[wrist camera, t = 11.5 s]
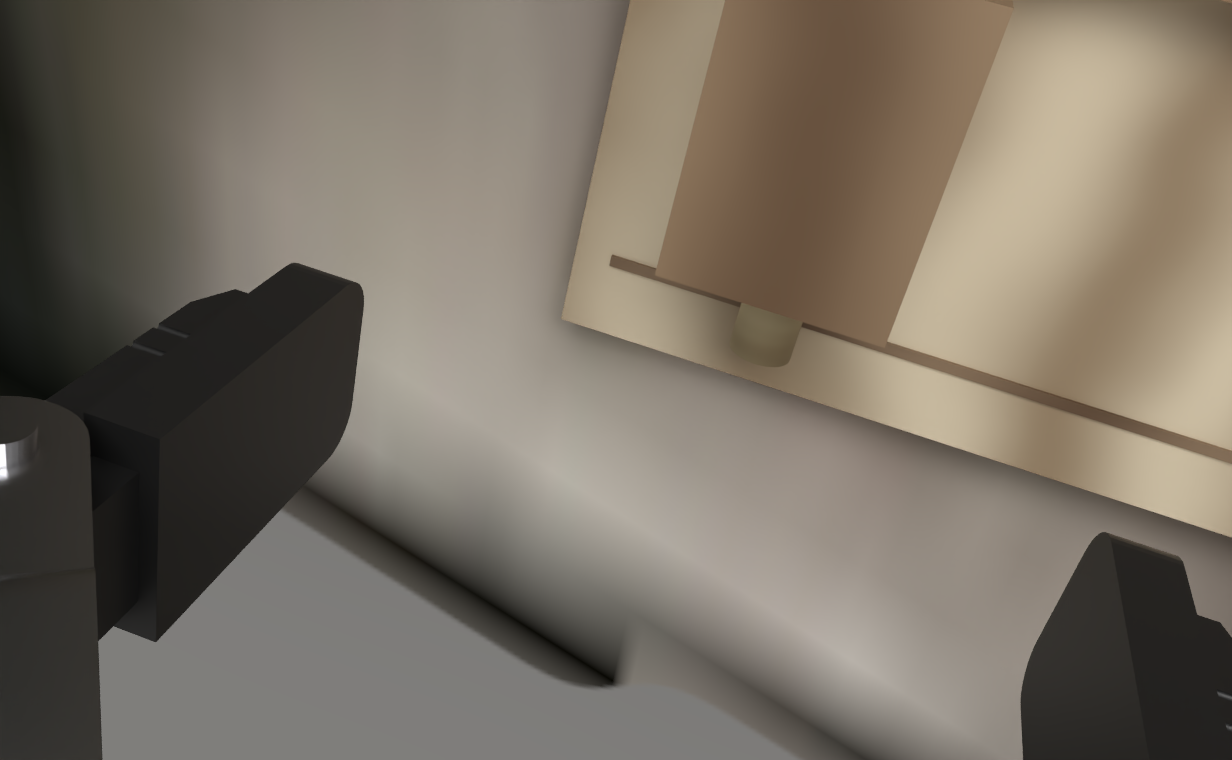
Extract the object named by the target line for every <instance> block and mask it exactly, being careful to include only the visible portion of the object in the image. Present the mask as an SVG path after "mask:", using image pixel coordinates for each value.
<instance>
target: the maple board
mask: <svg viewBox="0 0 1232 760" xmlns="http://www.w3.org/2000/svg"><path fill="white" fill-rule="evenodd" d="M724 3H725V0H630V4H629V9H628V13H627V18H626V23H625V27H624V32H623V36H622V41H621V46H620V50H619V55H618V59H617V64H616V69H615V73H614V78H613V82H612V87H611V92H610V96H609V101H608V105H607V110H606V114H605V119H604V124H603V128H602V133H601V137H600V142H599V147H598V151H597V156H596V160H595V165H594V170H593V174H592V179H591V183H590V188H589V193H588V197H587V202H586V206H585V211H584V216H583V220H582V225H581V229H580V234H579V238H578V243H577V248H576V252H575V257H574V261H573V266H572V271H571V275H570V280H569V284H568V289H567V294H566V298H565V303H564V307H563V312H562V317H561V319H563V320H566V321H569V322H572V323H575V324H578V325H581V326H584V327H587V328H590V329H593V330H597V331H600V332H603V333H606V334H609V335H612V336H615V337H618V338H621V339H624V340H627V341H630V342H633V343H636V344H640V345H643V346H646V347H649V348H652V349H655V350H658V351H661V352H664V353H667V354H670V355H673V356H676V357H679V358H682V359H686V360H689V361H692V362H695V363H698V364H701V365H704V366H707V367H710V368H713V369H716V370H719V371H722V372H725V373H728V374H732V375H735V376H738V377H741V378H744V379H747V380H750V381H753V382H756V383H759V384H762V385H765V386H768V387H771V388H775V389H778V390H781V391H784V392H787V393H790V394H793V395H796V396H799V397H802V398H805V399H808V400H811V401H814V402H817V403H821V404H824V405H827V406H830V407H833V408H836V409H839V410H842V411H845V412H848V413H851V414H854V415H857V416H860V417H863V418H867V419H870V420H873V421H876V422H879V423H882V424H885V425H888V426H891V427H894V428H897V429H900V430H903V431H906V432H909V433H913V434H916V435H919V436H922V437H925V438H928V439H931V440H934V441H937V442H940V443H943V444H946V445H949V446H952V447H956V448H959V449H962V450H965V451H968V452H971V453H974V454H977V455H980V456H983V457H986V458H989V459H992V460H995V461H998V462H1002V463H1005V464H1008V465H1011V466H1014V467H1017V468H1020V469H1023V470H1026V471H1029V472H1032V473H1035V474H1038V475H1041V476H1044V477H1048V478H1051V479H1054V480H1057V481H1060V482H1063V483H1066V484H1069V485H1072V486H1075V487H1078V488H1081V489H1084V490H1087V491H1091V492H1094V493H1097V494H1100V495H1103V496H1106V497H1109V498H1112V499H1115V500H1118V501H1121V502H1124V503H1127V504H1130V505H1133V506H1137V507H1140V508H1143V509H1146V510H1149V511H1152V512H1155V513H1158V514H1161V515H1164V516H1167V517H1170V518H1173V519H1176V520H1179V521H1183V522H1186V523H1189V524H1192V525H1195V526H1198V527H1201V528H1204V529H1207V530H1210V531H1213V532H1216V533H1219V534H1222V535H1226V536H1229V537H1232V0H1013V6H1014V10H1013V12H1012V15H1011V17H1010V20H1009V23H1008V25H1007V28H1006V31H1005V33H1004V36H1003V38H1002V41H1001V44H1000V46H999V49H998V52H997V54H996V57H995V60H994V62H993V65H992V67H991V70H990V73H989V75H988V78H987V81H986V83H985V86H984V88H983V91H982V94H981V96H980V99H979V102H978V104H977V107H976V109H975V112H974V115H973V117H972V120H971V123H970V125H969V128H968V130H967V133H966V136H965V138H964V141H963V144H962V146H961V149H960V151H959V154H958V157H957V159H956V162H955V165H954V167H953V170H952V172H951V175H950V178H949V180H948V183H947V186H946V188H945V191H944V193H943V196H942V199H941V201H940V204H939V207H938V209H937V212H936V214H935V217H934V220H933V222H932V225H931V228H930V230H929V233H928V235H927V238H926V241H925V243H924V246H923V249H922V251H921V254H920V256H919V259H918V262H917V264H916V267H915V270H914V272H913V275H912V278H911V280H910V283H909V285H908V288H907V291H906V293H905V296H904V299H903V301H902V304H901V306H900V309H899V312H898V314H897V317H896V320H895V322H894V325H893V327H892V330H891V333H890V335H889V338H888V341H887V343H886V346H885V348H883V347H880V346H877V345H874V344H870V343H867V342H864V341H861V340H858V339H855V338H851V337H848V336H845V335H842V334H839V333H836V332H832V331H829V330H826V329H823V328H820V327H817V326H813V325H810V324H807V323H804V322H803V323H802V326H801V329H800V332H799V335H798V338H797V341H796V344H795V347H794V350H793V353H792V356H791V359H790V361H789V363H788V364H786V365H784V366H781V367H765V366H760V365H756V364H753V363H751V362H748V361H746V360H744V359H742V358H741V357H739V356H738V355H737V354H735V353H734V352H733V351H732V349H731V347H730V344H729V343H730V339H731V336H732V332H733V329H734V326H735V322H736V319H737V316H738V312H739V309H740V306H741V302H737V301H734V300H731V299H728V298H725V297H722V296H718V295H715V294H712V293H709V292H706V291H702V290H699V289H696V288H693V287H690V286H687V285H683V284H680V283H677V282H674V281H671V280H668V279H664V278H661V277H658V276H655V272H656V268H657V264H658V260H659V257H660V253H661V249H662V245H663V241H664V237H665V233H666V229H667V225H668V221H669V218H670V214H671V210H672V206H673V202H674V198H675V194H676V190H677V186H678V182H679V179H680V175H681V171H682V167H683V163H684V159H685V155H686V151H687V147H688V143H689V139H690V136H691V132H692V128H693V124H694V120H695V116H696V112H697V108H698V104H699V100H700V97H701V93H702V89H703V85H704V81H705V77H706V73H707V69H708V65H709V61H710V58H711V54H712V50H713V46H714V42H715V38H716V34H717V30H718V26H719V22H720V18H721V15H722V11H723V7H724Z"/></svg>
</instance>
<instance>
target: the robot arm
mask: <svg viewBox="0 0 1232 760" xmlns="http://www.w3.org/2000/svg"><path fill="white" fill-rule="evenodd" d="M363 308H364V295H363V290H362V287H361V286H360V284H358V283H356V282H353V281H350V280H347V279H344V278H341V277H338V276H335V275H332V274H329V273H326V272H323V271H320V270H317V269H314V268H311V267H308V266H305V265H302V264H299V263H292V264H289V265H287V266H286V267H284V268H283V269H282V270H280V271H279V272H277V273H276V274H275V275H273V276H272V277H270V278H269V279H268V280H266V281H265V282H264V283H262V284H261V285H259V286H258V287H257V288H255V289H254V290H252V291H251V292H250V293H245V292H242V291H239V290H236V289H235V290H231V291H228V292H224V293H221V294H217V295H214V296H210V297H207V298H203V299H200V300H196V301H193V302H190V303H189V304H187V305H186V306H184V307H183V308H181V309H180V310H178V311H177V312H175V313H174V314H172V315H171V316H169V317H168V318H166V319H165V320H163V321H162V322H161V323H159V327H158V328H157V329H156V328H152V329H150V330H149V331H147V332H146V333H144V334H143V335H141V336H140V337H138V338H137V339H135V340H134V341H133V345H132V346H131V347H130V346H128V345H127V346H125V347H124V348H122V349H121V350H119V351H118V352H116V353H115V354H113V355H112V356H110V357H109V358H107V359H106V360H104V361H103V362H102V363H100V364H99V365H97V366H96V367H94V368H93V369H91V370H90V371H88V372H87V373H85V374H84V375H82V376H81V377H79V378H78V379H76V380H75V381H73V382H72V383H71V384H69V385H68V386H66V387H65V388H63V389H62V390H60V391H59V392H57V393H56V394H54V395H53V396H51V397H50V398H48V399H47V400H45V401H44V400H40V399H35V398H27V397H17V396H0V760H102V737H101V709H100V682H99V653H98V641H99V640H100V639H101V638H102V637H103V636H104V635H105V634H106V633H107V632H108V631H109V630H110V629H111V628H112V627H113V626H115V627H117V628H120V629H122V630H125V631H128V632H130V633H133V634H135V635H138V636H141V637H143V638H146V639H149V640H151V641H154V642H157V640H158V639H159V638H160V637H161V636H162V635H163V634H164V633H165V632H166V631H167V630H168V629H169V628H170V627H171V626H172V624H173V623H174V622H175V621H176V620H177V619H178V618H179V617H180V616H181V615H182V614H183V613H184V612H185V611H186V610H187V609H188V608H189V606H190V605H191V604H192V603H193V602H194V601H195V600H196V599H197V598H198V597H199V596H200V595H201V594H202V592H203V591H204V590H205V589H206V588H207V587H208V586H209V585H210V584H211V583H212V582H213V581H214V580H215V579H216V578H217V576H219V575H220V573H221V572H222V571H223V570H224V569H225V568H226V567H227V566H228V565H229V564H230V563H231V562H232V561H233V560H234V559H235V558H236V556H237V555H238V554H239V553H240V552H241V551H242V550H243V549H244V548H245V547H246V546H247V545H248V544H249V543H250V542H251V540H252V539H253V538H254V537H255V536H256V535H257V534H258V533H259V532H260V531H261V530H262V529H263V528H264V527H265V526H266V525H267V523H268V522H269V521H270V520H271V519H272V518H273V517H274V516H275V515H276V514H277V513H278V512H279V511H280V510H281V509H282V507H283V506H284V505H285V504H286V503H287V502H288V501H289V500H290V499H291V498H292V497H293V496H294V495H295V494H296V493H297V492H298V490H299V489H300V488H301V487H302V486H303V485H304V484H305V483H306V482H307V481H308V480H309V479H310V478H311V477H312V476H313V475H314V473H315V472H316V471H317V470H318V469H319V468H320V467H321V466H322V465H323V464H324V463H325V462H326V461H327V460H328V458H329V457H330V456H331V455H332V453H333V452H334V450H335V449H336V447H337V445H338V444H339V442H340V440H341V438H342V436H343V433H344V431H345V428H346V426H347V423H348V419H349V416H350V412H351V407H352V401H353V392H354V384H355V376H356V367H357V359H358V350H359V342H360V333H361V325H362V317H363ZM1021 723H1022V743H1023V760H1232V637H1231V636H1230V635H1229V633H1228V632H1227V631H1226V630H1225V628H1224V627H1223V626H1222V624H1221V623H1220V622H1217V621H1214V620H1211V619H1208V618H1205V617H1202V616H1199V615H1197V613H1196V609H1195V605H1194V601H1193V597H1192V594H1191V590H1190V586H1189V582H1188V578H1187V575H1186V571H1185V567H1184V564H1183V561H1182V560H1181V558H1180V557H1178V556H1176V555H1173V554H1170V553H1167V552H1163V551H1160V550H1157V549H1154V548H1151V547H1148V546H1145V545H1142V544H1139V543H1136V542H1133V541H1130V540H1127V539H1124V538H1121V537H1118V536H1115V535H1112V534H1109V533H1106V532H1102V533H1100V534H1098V535H1097V536H1096V537H1095V538H1094V539H1093V540H1092V542H1091V543H1090V545H1089V546H1088V548H1087V549H1086V551H1085V553H1084V555H1083V557H1082V558H1081V560H1080V562H1079V564H1078V566H1077V568H1076V570H1075V571H1074V573H1073V575H1072V577H1071V579H1070V581H1069V583H1068V584H1067V586H1066V588H1065V590H1064V592H1063V594H1062V596H1061V597H1060V599H1059V601H1058V603H1057V605H1056V607H1055V609H1054V610H1053V612H1052V614H1051V616H1050V618H1049V620H1048V622H1047V623H1046V625H1045V627H1044V629H1043V631H1042V633H1041V635H1040V636H1039V638H1038V640H1037V642H1036V644H1035V646H1034V649H1033V651H1032V653H1031V656H1030V659H1029V661H1028V665H1027V668H1026V672H1025V676H1024V680H1023V685H1022V692H1021Z"/></svg>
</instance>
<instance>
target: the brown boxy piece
mask: <svg viewBox="0 0 1232 760" xmlns="http://www.w3.org/2000/svg"><path fill="white" fill-rule="evenodd" d="M1013 10H1014V6H1013V0H725V3H724V7H723V11H722V15H721V18H720V22H719V26H718V30H717V34H716V38H715V42H714V46H713V50H712V54H711V58H710V61H709V65H708V69H707V73H706V77H705V81H704V85H703V89H702V93H701V97H700V100H699V104H698V108H697V112H696V116H695V120H694V124H693V128H692V132H691V136H690V139H689V143H688V147H687V151H686V155H685V159H684V163H683V167H682V171H681V175H680V179H679V182H678V186H677V190H676V194H675V198H674V202H673V206H672V210H671V214H670V218H669V221H668V225H667V229H666V233H665V237H664V241H663V245H662V249H661V253H660V257H659V260H658V264H657V268H656V272H655V276H658V277H661V278H664V279H668V280H671V281H674V282H677V283H680V284H683V285H687V286H690V287H693V288H696V289H699V290H702V291H706V292H709V293H712V294H715V295H718V296H722V297H725V298H728V299H731V300H734V301H737V302H741V306H740V309H739V312H738V316H737V319H736V322H735V326H734V329H733V332H732V336H731V339H730V343H729V344H730V347H731V349H732V351H733V352H734V353H735V354H737V355H738V356H739V357H741V358H742V359H744V360H746V361H748V362H751V363H753V364H756V365H760V366H765V367H781V366H784V365H786V364H788V363H789V361H790V359H791V356H792V353H793V350H794V347H795V344H796V341H797V338H798V335H799V332H800V329H801V326H802V323H803V322H804V323H807V324H810V325H813V326H817V327H820V328H823V329H826V330H829V331H832V332H836V333H839V334H842V335H845V336H848V337H851V338H855V339H858V340H861V341H864V342H867V343H870V344H874V345H877V346H880V347H883V348H885V346H886V343H887V341H888V338H889V335H890V333H891V330H892V327H893V325H894V322H895V320H896V317H897V314H898V312H899V309H900V306H901V304H902V301H903V299H904V296H905V293H906V291H907V288H908V285H909V283H910V280H911V278H912V275H913V272H914V270H915V267H916V264H917V262H918V259H919V256H920V254H921V251H922V249H923V246H924V243H925V241H926V238H927V235H928V233H929V230H930V228H931V225H932V222H933V220H934V217H935V214H936V212H937V209H938V207H939V204H940V201H941V199H942V196H943V193H944V191H945V188H946V186H947V183H948V180H949V178H950V175H951V172H952V170H953V167H954V165H955V162H956V159H957V157H958V154H959V151H960V149H961V146H962V144H963V141H964V138H965V136H966V133H967V130H968V128H969V125H970V123H971V120H972V117H973V115H974V112H975V109H976V107H977V104H978V102H979V99H980V96H981V94H982V91H983V88H984V86H985V83H986V81H987V78H988V75H989V73H990V70H991V67H992V65H993V62H994V60H995V57H996V54H997V52H998V49H999V46H1000V44H1001V41H1002V38H1003V36H1004V33H1005V31H1006V28H1007V25H1008V23H1009V20H1010V17H1011V15H1012V12H1013Z"/></svg>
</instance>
